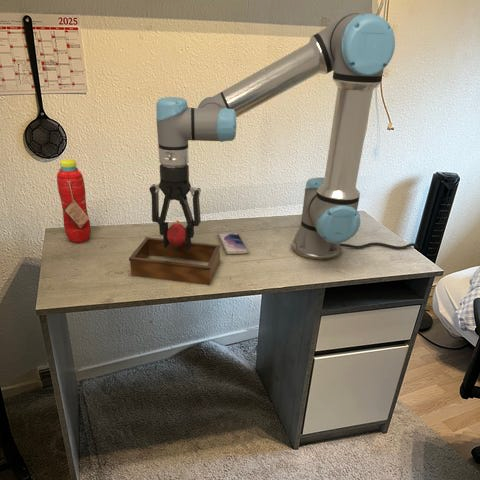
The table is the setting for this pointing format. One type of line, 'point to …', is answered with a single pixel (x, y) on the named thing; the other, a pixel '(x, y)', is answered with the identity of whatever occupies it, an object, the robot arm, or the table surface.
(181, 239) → the pomegranate
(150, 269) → the wooden box frame
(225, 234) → the smartphone
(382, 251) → the table surface
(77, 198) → the water bottle
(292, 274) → the table surface
